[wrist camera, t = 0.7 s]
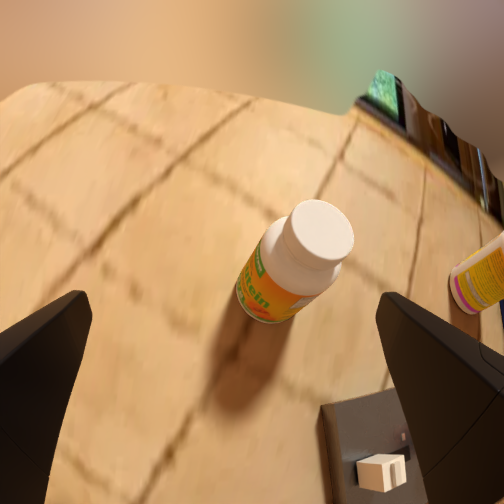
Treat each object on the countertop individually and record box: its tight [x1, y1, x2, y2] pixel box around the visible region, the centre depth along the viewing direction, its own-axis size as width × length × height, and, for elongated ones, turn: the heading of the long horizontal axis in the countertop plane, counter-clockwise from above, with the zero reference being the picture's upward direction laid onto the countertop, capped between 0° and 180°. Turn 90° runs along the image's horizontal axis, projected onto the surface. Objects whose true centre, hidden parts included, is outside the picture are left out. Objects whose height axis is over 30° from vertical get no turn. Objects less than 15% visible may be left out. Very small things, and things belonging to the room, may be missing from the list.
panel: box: [321, 387, 428, 504], centre depth 21 cm, size 12×20×2 cm, turn 96°
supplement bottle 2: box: [450, 231, 504, 314], centre depth 27 cm, size 7×7×13 cm
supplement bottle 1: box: [236, 200, 354, 324], centre depth 21 cm, size 5×5×10 cm
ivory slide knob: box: [356, 454, 406, 492], centre depth 16 cm, size 2×2×3 cm
